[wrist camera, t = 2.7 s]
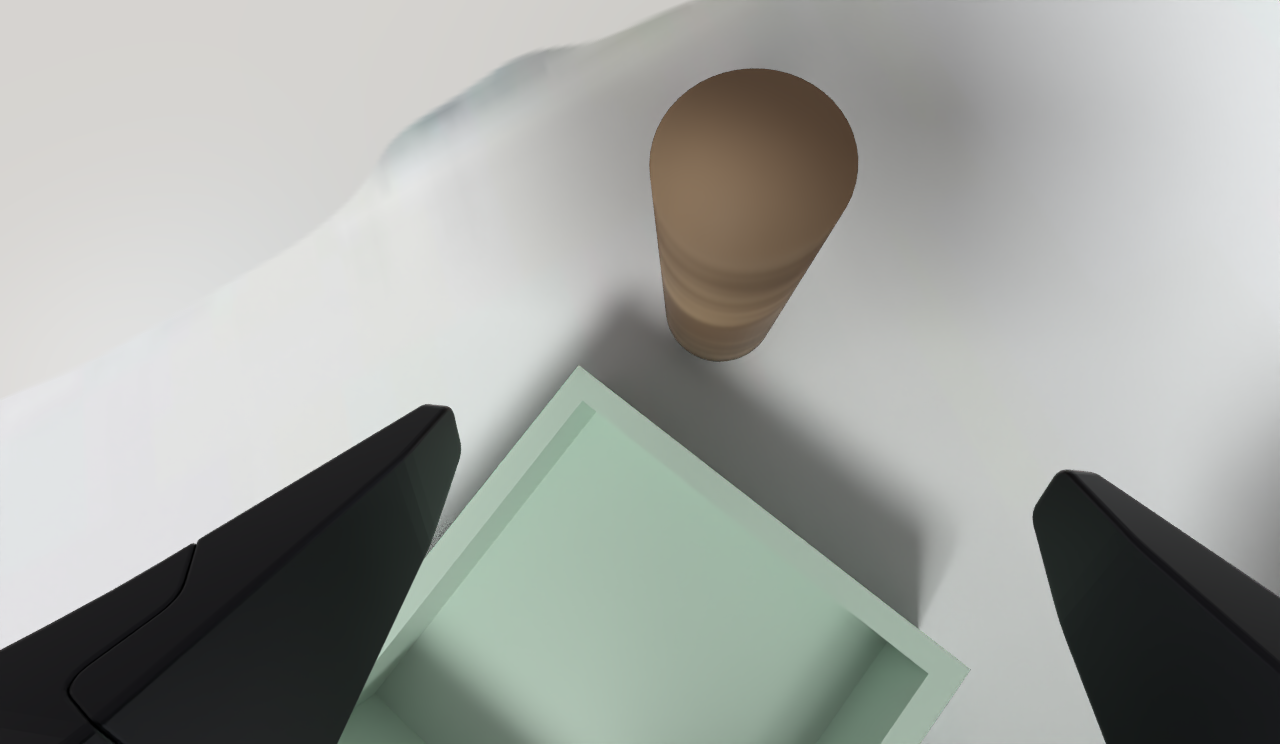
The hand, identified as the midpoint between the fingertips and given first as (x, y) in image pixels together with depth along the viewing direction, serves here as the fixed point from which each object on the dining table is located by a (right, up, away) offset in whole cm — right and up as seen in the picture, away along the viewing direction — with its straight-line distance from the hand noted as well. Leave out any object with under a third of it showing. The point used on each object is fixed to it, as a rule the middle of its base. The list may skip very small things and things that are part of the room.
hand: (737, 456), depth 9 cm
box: (-2, -9, +11) cm, 14 cm away
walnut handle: (+2, +4, +13) cm, 13 cm away
